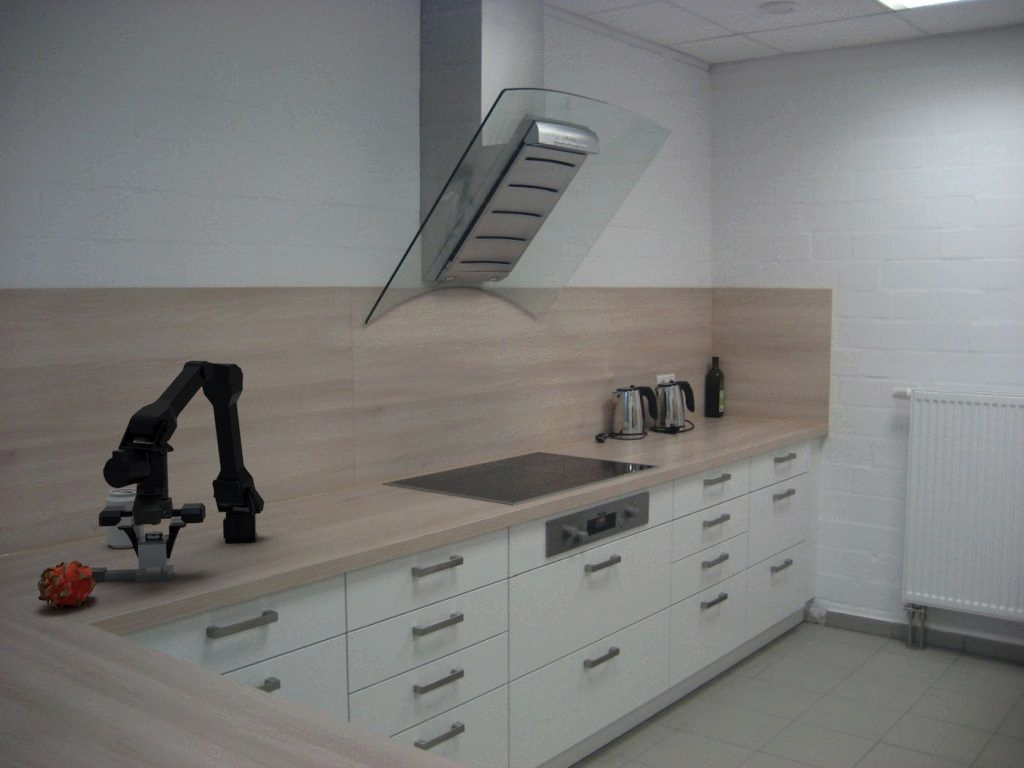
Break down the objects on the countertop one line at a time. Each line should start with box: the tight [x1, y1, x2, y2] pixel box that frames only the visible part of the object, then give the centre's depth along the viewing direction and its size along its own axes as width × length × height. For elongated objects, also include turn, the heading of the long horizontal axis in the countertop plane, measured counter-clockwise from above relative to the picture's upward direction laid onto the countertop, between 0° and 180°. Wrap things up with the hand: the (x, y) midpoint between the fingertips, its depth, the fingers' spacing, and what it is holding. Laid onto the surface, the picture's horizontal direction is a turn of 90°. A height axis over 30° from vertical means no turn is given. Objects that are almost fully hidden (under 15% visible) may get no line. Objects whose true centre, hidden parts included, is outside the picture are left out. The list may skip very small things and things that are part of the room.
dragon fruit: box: [37, 560, 98, 610], centre depth 176 cm, size 8×8×12 cm
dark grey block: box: [137, 530, 171, 569], centre depth 192 cm, size 5×5×6 cm
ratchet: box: [90, 564, 175, 584], centre depth 191 cm, size 20×6×4 cm, turn 100°
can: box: [105, 487, 145, 549], centre depth 216 cm, size 8×8×12 cm
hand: (154, 558), depth 193 cm, fingers closed on dark grey block, 5 cm apart
